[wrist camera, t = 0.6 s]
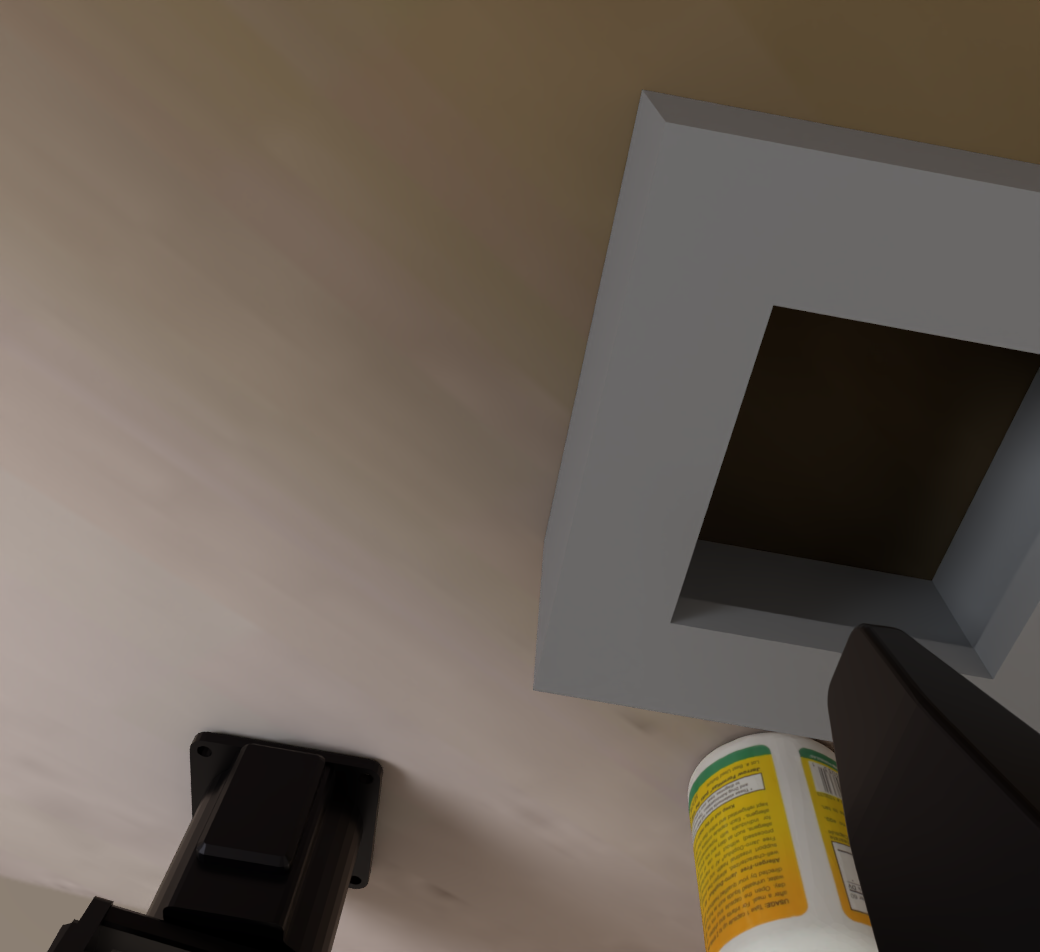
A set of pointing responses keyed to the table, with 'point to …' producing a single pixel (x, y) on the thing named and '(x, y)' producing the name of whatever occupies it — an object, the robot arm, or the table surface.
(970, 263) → the drop box
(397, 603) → the table surface
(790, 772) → the supplement bottle
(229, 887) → the robot arm
